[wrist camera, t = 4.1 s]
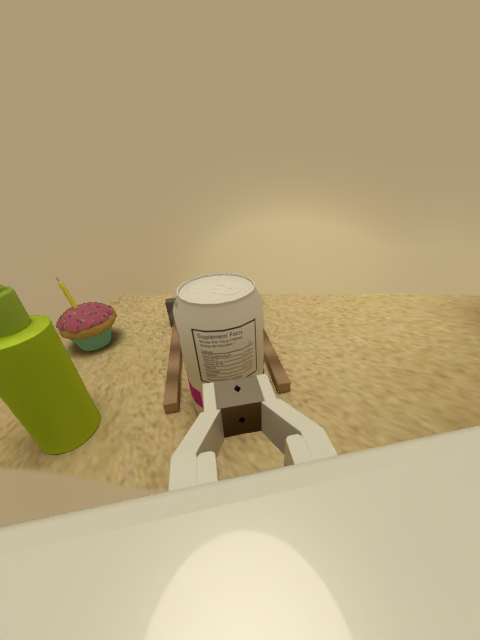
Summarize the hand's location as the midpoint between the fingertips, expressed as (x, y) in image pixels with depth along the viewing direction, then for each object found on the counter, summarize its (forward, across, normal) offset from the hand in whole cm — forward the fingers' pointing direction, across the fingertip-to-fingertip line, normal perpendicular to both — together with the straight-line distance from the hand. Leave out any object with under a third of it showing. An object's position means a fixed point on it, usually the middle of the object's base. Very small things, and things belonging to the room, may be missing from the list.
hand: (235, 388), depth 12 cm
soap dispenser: (+12, +18, +15) cm, 26 cm away
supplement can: (+12, 0, +15) cm, 19 cm away
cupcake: (+31, +20, +15) cm, 40 cm away
